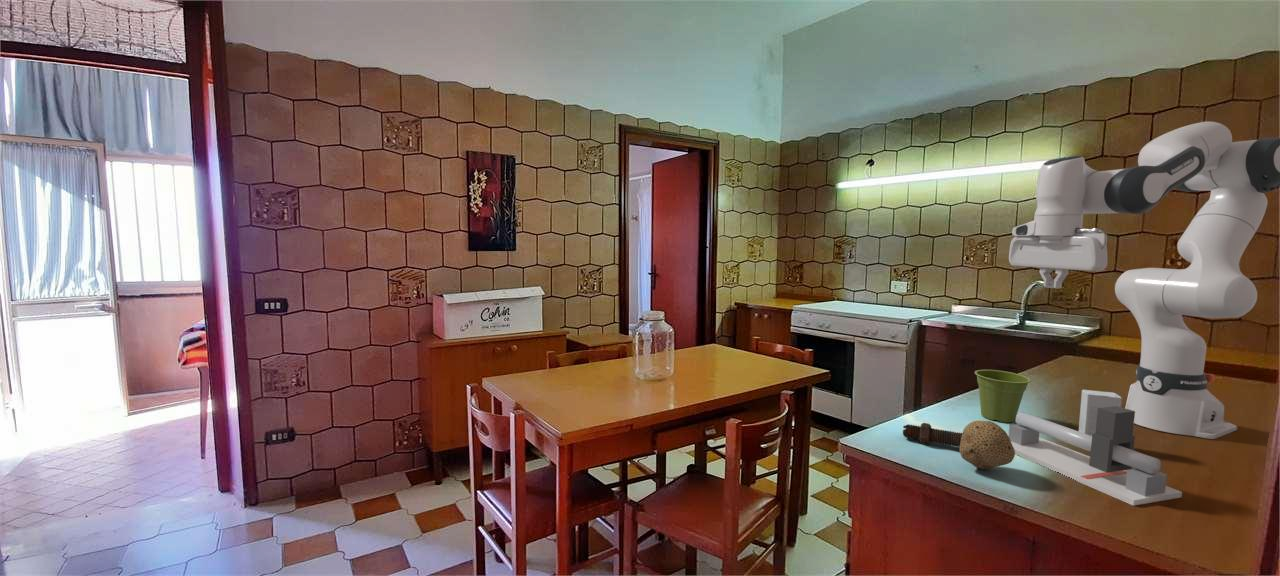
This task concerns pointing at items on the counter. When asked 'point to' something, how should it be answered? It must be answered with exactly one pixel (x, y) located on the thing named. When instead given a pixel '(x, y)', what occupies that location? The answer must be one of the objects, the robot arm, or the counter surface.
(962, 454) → the natural sponge
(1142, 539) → the counter surface
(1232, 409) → the counter surface
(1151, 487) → the pipe stand
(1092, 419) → the skincare box
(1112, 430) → the collar
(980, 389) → the plant pot
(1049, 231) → the robot arm
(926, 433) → the bolt
